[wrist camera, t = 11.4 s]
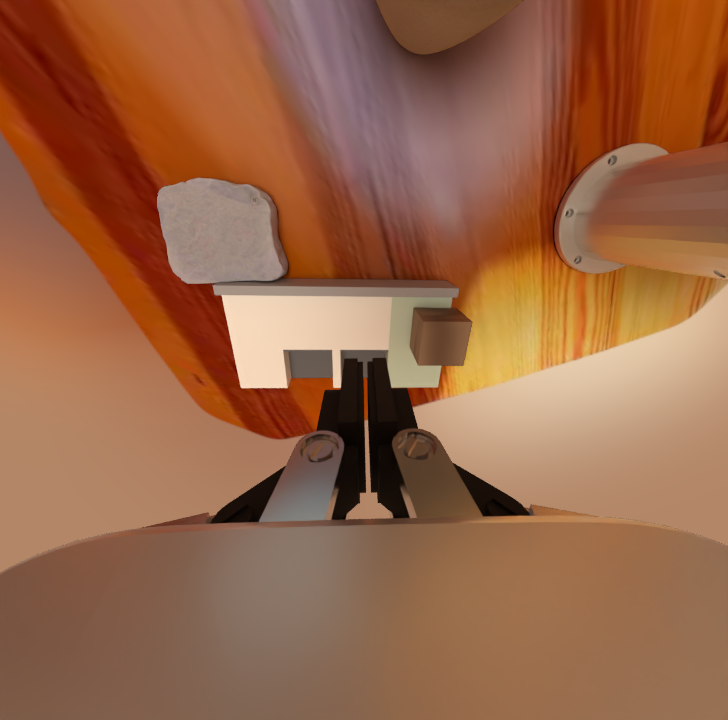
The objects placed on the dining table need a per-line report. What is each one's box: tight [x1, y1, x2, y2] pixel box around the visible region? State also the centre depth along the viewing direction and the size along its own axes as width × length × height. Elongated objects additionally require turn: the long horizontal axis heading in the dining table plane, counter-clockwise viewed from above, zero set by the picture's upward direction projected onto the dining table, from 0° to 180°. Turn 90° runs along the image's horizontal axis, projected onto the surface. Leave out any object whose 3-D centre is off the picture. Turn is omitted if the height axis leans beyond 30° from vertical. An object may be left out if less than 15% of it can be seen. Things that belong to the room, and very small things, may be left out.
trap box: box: [213, 278, 459, 388], centre depth 34 cm, size 26×14×4 cm, turn 89°
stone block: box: [157, 178, 288, 284], centre depth 30 cm, size 12×5×10 cm
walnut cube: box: [409, 307, 472, 366], centre depth 31 cm, size 5×5×5 cm
